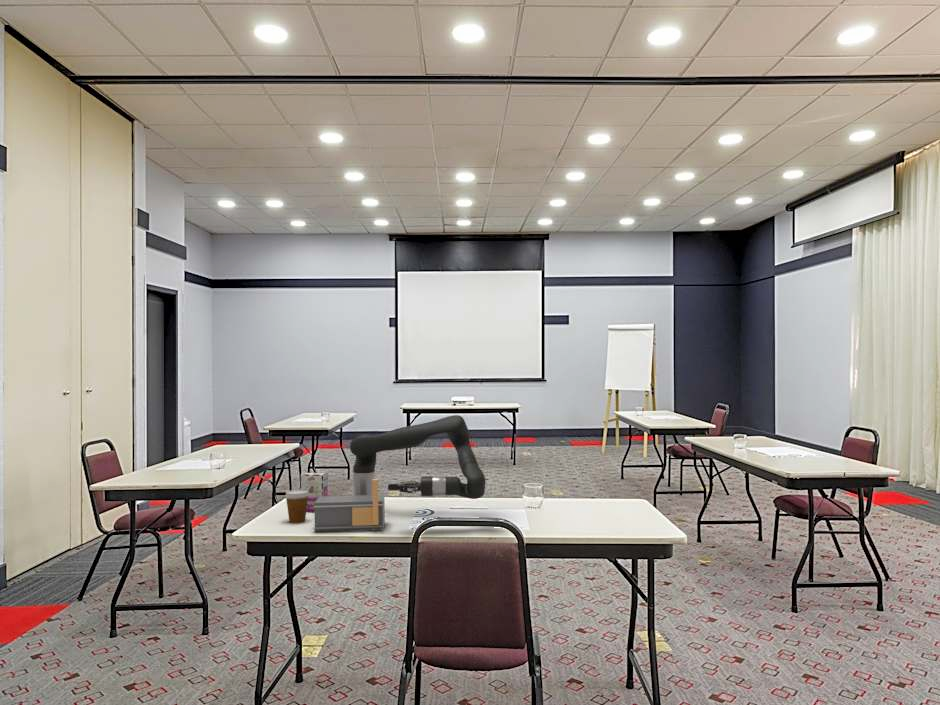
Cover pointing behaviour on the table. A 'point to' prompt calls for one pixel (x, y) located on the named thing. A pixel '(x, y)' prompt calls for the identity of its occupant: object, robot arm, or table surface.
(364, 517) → the side door
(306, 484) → the candy bar box
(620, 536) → the table surface
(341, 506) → the case
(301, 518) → the disposable coffee cup
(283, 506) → the table surface
